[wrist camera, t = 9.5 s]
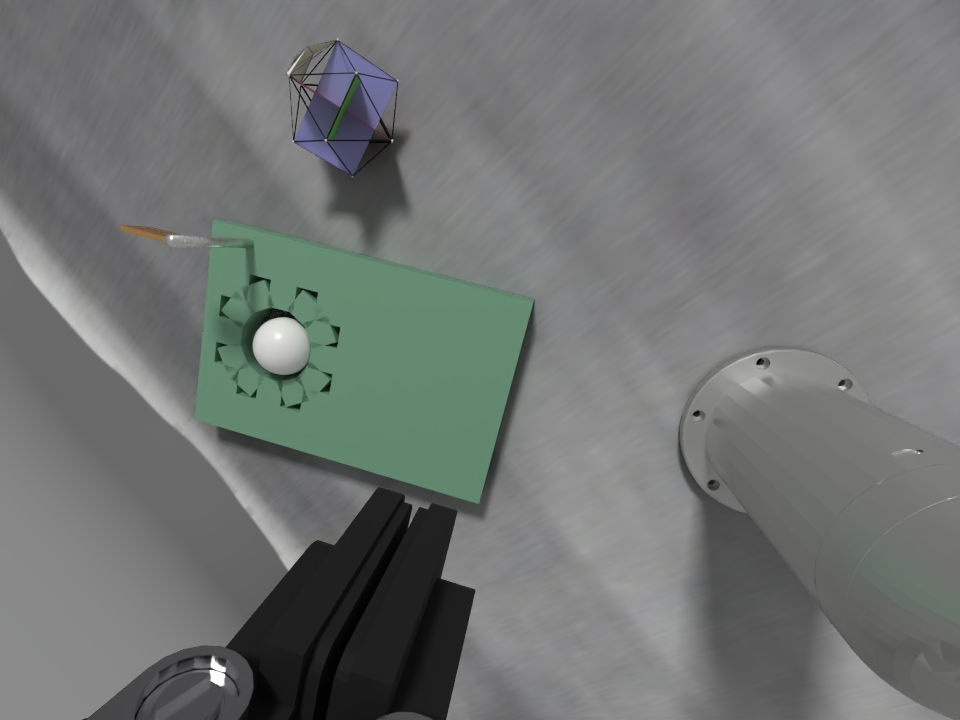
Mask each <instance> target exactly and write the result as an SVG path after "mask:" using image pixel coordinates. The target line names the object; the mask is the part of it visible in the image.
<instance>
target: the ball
mask: <svg viewBox="0 0 960 720" xmlns="http://www.w3.org/2000/svg"><path fill="white" fill-rule="evenodd" d="M310 351H311V343H310V340H309V337H308V335H307V332H306V329H305V326H304V325H303V324H302V323H301V322H299V321H298V320H295V319H292V318H287V317H279V318H275V319H271V320H269V321H267V322H265V323H264V324H263V325H262V326H261V327H260V328H259V329H258V330H257V332H256V334H255V336H254V339H253V353H254V356H255V358H256V360H257V361H258V363H259V364H260V365H261V366H262V367H263V368H264V369H266V370H268V371H269V372H272V373H275V374H279V375H289V374H294V373H296V372H299V371H301V370H302V369H304V368H305V367H306V366H307V365H308V364H309V357H310Z"/></svg>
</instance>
